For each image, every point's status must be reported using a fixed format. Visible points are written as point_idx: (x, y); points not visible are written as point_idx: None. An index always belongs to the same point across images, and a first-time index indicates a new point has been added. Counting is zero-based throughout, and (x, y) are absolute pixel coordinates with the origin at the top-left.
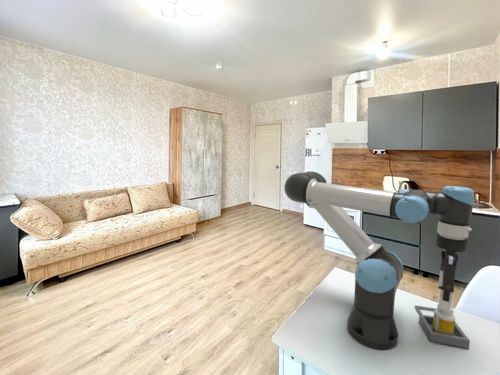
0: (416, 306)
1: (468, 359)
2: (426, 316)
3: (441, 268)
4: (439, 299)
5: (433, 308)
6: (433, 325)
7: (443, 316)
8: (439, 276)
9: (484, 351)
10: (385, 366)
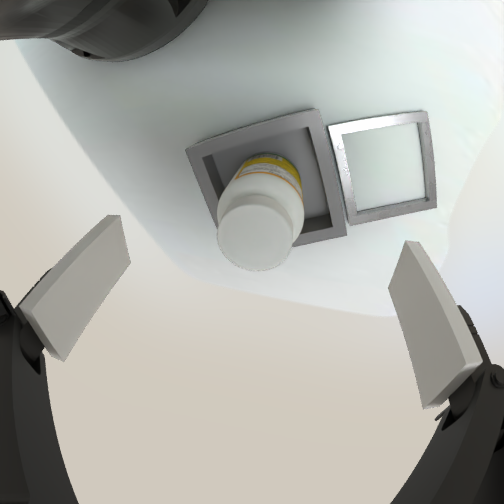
0: (421, 116)
1: (187, 234)
2: (315, 137)
3: (476, 398)
4: (82, 245)
5: (433, 180)
6: (255, 158)
7: (221, 212)
8: (454, 312)
9: (254, 275)
10: (43, 73)
